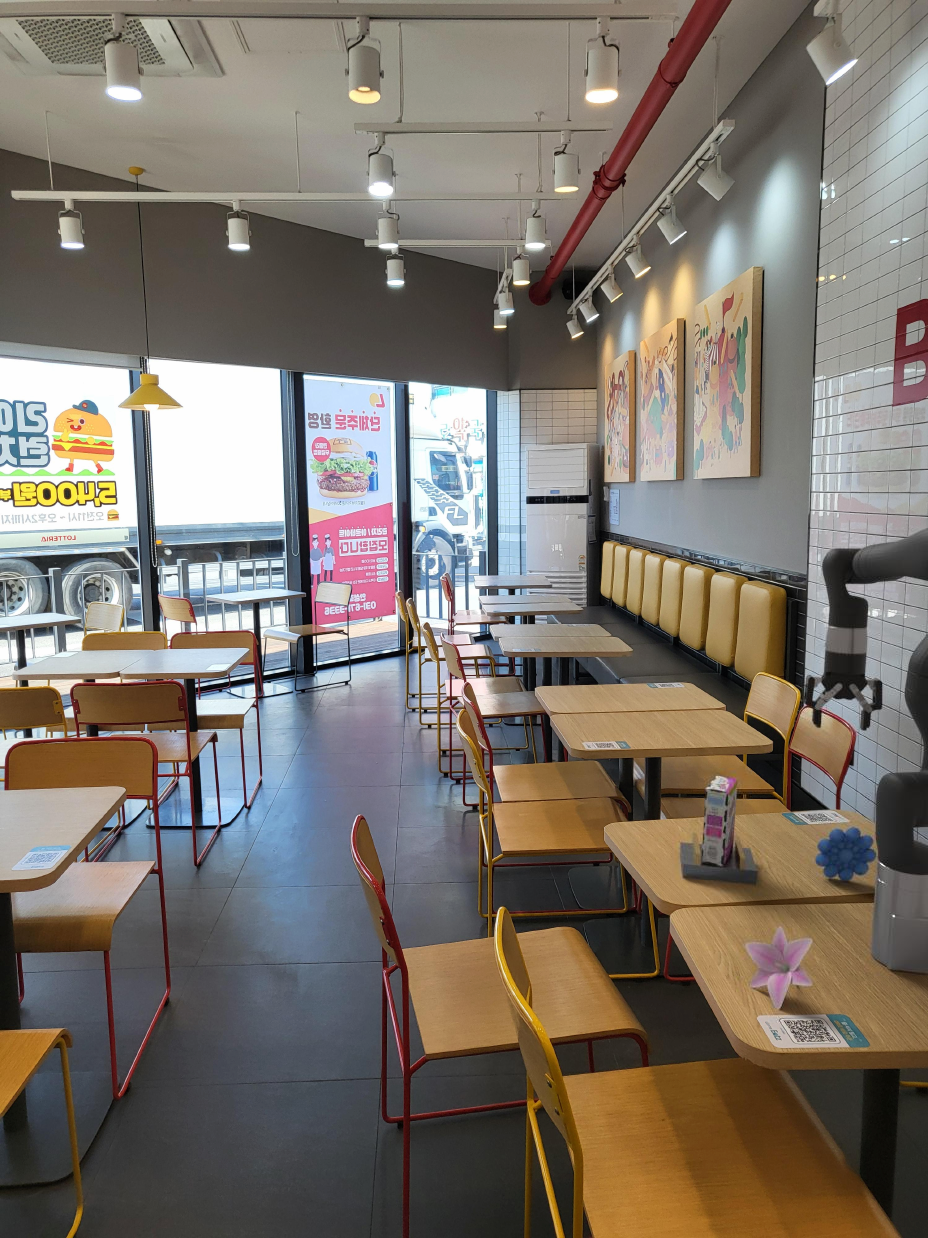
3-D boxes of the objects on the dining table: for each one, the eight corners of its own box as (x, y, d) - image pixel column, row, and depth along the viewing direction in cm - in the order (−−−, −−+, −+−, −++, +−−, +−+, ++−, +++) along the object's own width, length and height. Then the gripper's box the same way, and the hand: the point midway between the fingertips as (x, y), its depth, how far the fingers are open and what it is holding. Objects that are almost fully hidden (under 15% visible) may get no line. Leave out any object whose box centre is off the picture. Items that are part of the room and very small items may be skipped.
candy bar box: (724, 868, 173) (728, 792, 171) (700, 863, 175) (704, 788, 173) (734, 849, 183) (738, 778, 181) (711, 845, 185) (715, 774, 183)
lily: (742, 970, 141) (728, 933, 137) (810, 949, 140) (797, 910, 136) (768, 1032, 130) (753, 993, 127) (841, 1010, 129) (828, 969, 125)
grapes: (872, 877, 176) (876, 823, 175) (875, 890, 170) (879, 834, 168) (813, 868, 180) (816, 815, 179) (814, 881, 174) (817, 826, 172)
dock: (756, 884, 172) (758, 859, 171) (682, 877, 175) (683, 852, 174) (749, 861, 184) (750, 837, 183) (679, 855, 187) (680, 831, 186)
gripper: (811, 650, 162) (806, 731, 164) (890, 653, 159) (884, 735, 161) (804, 644, 169) (799, 721, 171) (879, 647, 166) (873, 726, 168)
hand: (840, 728), depth 166 cm, fingers open, 8 cm apart
